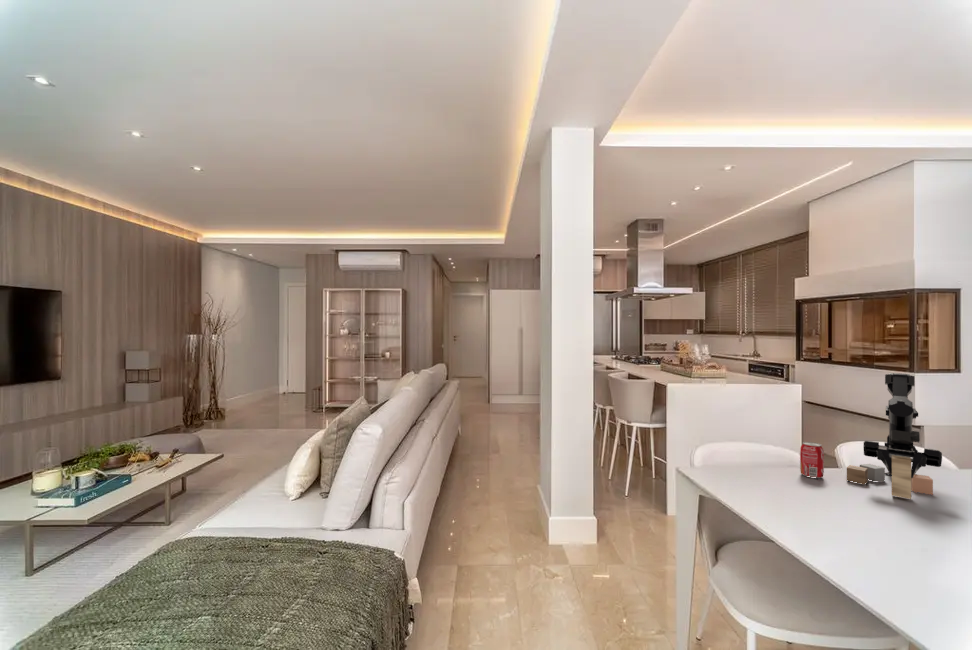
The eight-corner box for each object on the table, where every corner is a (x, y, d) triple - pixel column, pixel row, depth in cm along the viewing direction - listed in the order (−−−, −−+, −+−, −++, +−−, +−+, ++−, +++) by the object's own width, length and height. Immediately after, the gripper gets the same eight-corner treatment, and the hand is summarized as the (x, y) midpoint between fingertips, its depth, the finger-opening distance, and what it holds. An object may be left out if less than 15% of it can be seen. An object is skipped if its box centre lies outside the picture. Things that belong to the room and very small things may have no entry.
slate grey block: (869, 477, 165) (869, 463, 165) (884, 481, 160) (884, 467, 160) (859, 478, 164) (859, 464, 164) (874, 482, 159) (874, 468, 159)
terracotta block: (908, 487, 154) (908, 473, 154) (928, 490, 151) (928, 476, 151) (912, 491, 150) (912, 477, 150) (932, 495, 147) (932, 480, 147)
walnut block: (849, 478, 163) (849, 465, 163) (867, 482, 159) (867, 468, 159) (846, 481, 159) (846, 467, 159) (864, 485, 156) (864, 471, 156)
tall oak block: (891, 491, 146) (891, 455, 147) (910, 495, 143) (910, 457, 144) (891, 495, 143) (891, 457, 143) (911, 499, 140) (911, 460, 140)
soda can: (815, 474, 167) (816, 441, 168) (828, 480, 160) (828, 446, 161) (795, 473, 168) (796, 441, 168) (807, 479, 161) (807, 445, 161)
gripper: (863, 416, 153) (862, 455, 144) (941, 425, 140) (945, 468, 132) (864, 435, 158) (863, 474, 150) (939, 445, 146) (942, 488, 138)
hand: (901, 475), depth 142 cm, fingers closed on tall oak block, 4 cm apart
